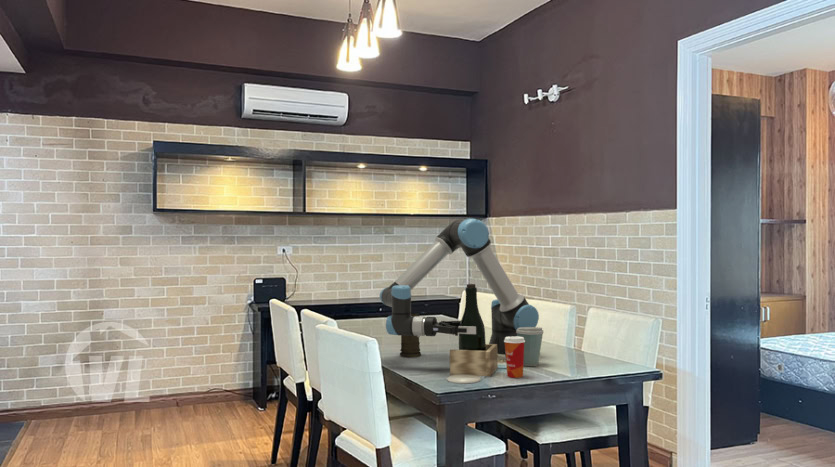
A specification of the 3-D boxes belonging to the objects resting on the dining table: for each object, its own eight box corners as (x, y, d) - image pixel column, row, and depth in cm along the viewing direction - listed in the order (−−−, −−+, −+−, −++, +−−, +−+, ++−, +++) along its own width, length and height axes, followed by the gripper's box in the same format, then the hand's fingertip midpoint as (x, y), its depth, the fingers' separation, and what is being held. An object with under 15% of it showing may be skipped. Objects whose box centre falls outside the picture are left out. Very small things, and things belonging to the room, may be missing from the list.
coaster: (478, 375, 235) (478, 373, 235) (483, 383, 223) (483, 381, 223) (445, 376, 234) (445, 374, 234) (448, 384, 222) (448, 382, 222)
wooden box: (450, 374, 237) (449, 350, 237) (459, 365, 252) (459, 343, 252) (490, 376, 233) (489, 351, 233) (497, 367, 248) (497, 344, 248)
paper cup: (502, 374, 236) (501, 336, 236) (522, 373, 237) (522, 335, 237) (507, 379, 228) (506, 339, 228) (528, 378, 229) (527, 339, 229)
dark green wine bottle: (482, 367, 249) (480, 282, 249) (489, 373, 238) (488, 284, 238) (455, 368, 247) (454, 283, 247) (462, 374, 237) (460, 285, 237)
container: (418, 357, 270) (417, 315, 270) (398, 357, 272) (397, 315, 272) (422, 353, 279) (422, 312, 279) (402, 353, 281) (402, 312, 281)
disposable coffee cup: (511, 363, 255) (510, 325, 255) (534, 361, 259) (534, 324, 259) (525, 368, 245) (524, 329, 245) (549, 366, 249) (548, 327, 249)
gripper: (434, 331, 260) (485, 332, 254) (416, 341, 236) (472, 343, 230) (433, 312, 260) (485, 313, 254) (415, 321, 236) (472, 322, 230)
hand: (479, 327), depth 242 cm, fingers open, 13 cm apart
